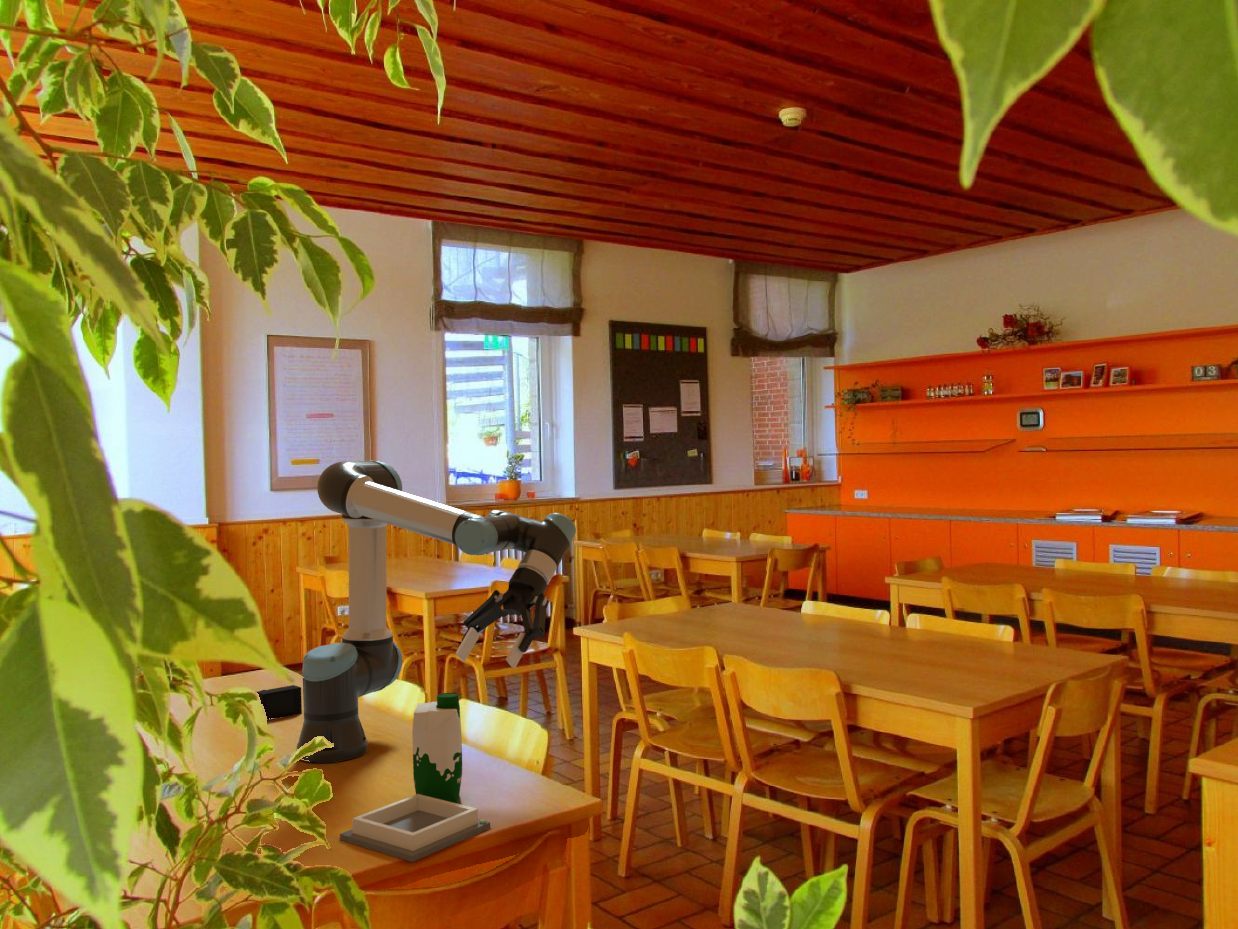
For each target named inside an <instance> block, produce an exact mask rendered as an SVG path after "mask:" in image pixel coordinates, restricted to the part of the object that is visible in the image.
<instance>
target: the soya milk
mask: <svg viewBox="0 0 1238 929" xmlns="http://www.w3.org/2000/svg"><path fill="white" fill-rule="evenodd" d="M460 710H461V707H460V701H459V693H456V692H444V693H440V694H437V695H436V701H431V702H420V703H419V702H418V703H417V705H416V707H415V709H414V711H413V718H412V719H413V720H412V731H411V732H412V765H413V766H412V769H413V770H412V773H413V783H414V789H415V795H416V794H420V795H424V796H428V797H432V798H436V799H440V800H445V801H449V802H453V803H457V804H459V803H458V802H459V797H460V793H461V785H462V778H463V777H462V776H463V741H462V740H463V739H462V738H463V736H462V722H461V720H462V719H461V711H460Z"/></svg>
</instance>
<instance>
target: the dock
mask: <svg viewBox="0 0 1238 929" xmlns="http://www.w3.org/2000/svg"><path fill="white" fill-rule="evenodd" d="M478 810H479V809H478V808H477V807H472V806H468V805H463V804H460V803H453V802H449V801H445V800H440V799H436V798H432V797H428V796H424V795H420V794H416V793H415V794H414V795H411V796H408V797H406V798H403V799H401V800H399V801H398V800H397V801H395V802H393V803H389V804H387V805H384V806H382V807H379V808H377V809H374V810H371V811H369V812H366V813H363V814H361V815H357V816H355V817H352V819H351V821H352V823H351V825H352V826H351V827H352V828H351V829H349V830H347V831H344V832H342V833H340V834H339V840H340V841H343V842H346V843H349V844H352V845H355V846H359V847H362V848H366V849H368V850H370V851H371V850H372V851H376V852H379V853H381V854H384V855H387V856H390V857H395V858H398V859H401V860H404V861H407V862H410V863H414V862H416V861H418V860H421V859H423V858H425V857H428V856H430V855H432V854H435V853H437V852H439V851H441V850H444V849H446V848H448V847H450V846H453V845H455V844H457V843H460V842H461V841H464V840H467V839H469V838H470V837H473V836H475V835H478V834H480V833H482V832H484V831H486V830H489V829H491V821H487V819H485V818H483V819H482V818H481V819H479V811H478Z"/></svg>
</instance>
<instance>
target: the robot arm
mask: <svg viewBox="0 0 1238 929" xmlns="http://www.w3.org/2000/svg"><path fill="white" fill-rule="evenodd" d="M316 489H317V494H318V498H319V500H320V502H321V504H323V506H325V507H326V508H327V510H330V511H332V512H334V513H337V514H341V520H342V521H343V522H344V523H345V524H346V525H347V526H348V628H347V630H346V631H345V632H343V634H342V635H341V642H335V643H329V644H327V645H325V644H323V645H321V646H320V645H319V646H317V647H315V648H312V649H311V650H309V651H307V652H306V653H305V655H304V657H303V659H302V670H301V676H302V691H303V692H302V693H303V694H302V695H303V696H302V700H303V701H302V702H303V724H302V726H301V731H300V735H299V738H298V742H297V744H296V750H297V749H299V748H300V747H301V746H303V745H304V744H305V743H308V742H309V741H311V740H312V739H313V738H314V737H317V736H324V737H325V738H326V739H327V740H328V741H330V742H331V743H334V747H332V748H325V749H323V750H321V751H318V752H316V753H314V754H313V755H310V756H305V757H303V758H302V759H304V760H309V761H310V762H309V763H312V762H315V764H324V763H325V764H326V763H328V764H329V763H336V762H343V761H348V760H351V759H357V758H358V757H361V756H363V755H364V754H366V753H367V752H368V739H367V737H366V734H365V731H364V727H363V726H362V722H361V720H360V717H359V698H361V697H364V696H366V695H369V694H372V693H377V692H379V691H382V690H383V689H386V688H387V687H389V686H390V685H392V684H393V683H394V682H396V680H397V679H398V677H399V676H400V673H401V671H402V667H403V654H402V652H401V649H400V648H399V647H398V644H397V643H396V642H395V641H394V634H393V632H392V631H391V630H390V629H389V627H387V527H388V525H389V526H393V527H398V528H400V529H403V530H406V531H410V532H413V533H417V534H419V535H423V536H425V537H429V538H431V539H434V540H438V541H441V542H444V543H447V544H450V545H454V546H457V547H458V549H459V550H460V551H461V552H462V553H464V554H466V555H469V556H483V555H486V554H490V553H495V552H500V551H506V550H514V551H519V552H523V553H524V555H523V556H522V558H521V559H520V561H519V563H518V565H517V568H516V569H515V571H514V572H513V574H512V575H511V577H510V579H509V580H508V588H507V590H506V592H504V593H502V592H500V591H499V590H498V589H494V590H493V592H492V593H491V595H490V596H489V597H488V598H487V599H486V600H485V601H484V602H483V603H482V604H480V606H478V607H477V608H476V609H475V610H473V612H472V613H471V614H470V615H468V616H467V618H465V619H464V621H463V622H462V623H463V625H464V626H465V627H466V628H467V630H466V631H465V633H464V635H463V637H462V639H461V643H460V644H459V647H458V648H457V650H456V651H455V652H454V653H455V655H456V656H457V657H458V658H459V659H460V660H461V662H465V661H466V660H467V658H468V657H469V656H470V653H471V651H472V650H473V648H474V646H475V645H476V643H477V641H478V640H479V638H480V636H481V635H480V634H479V633H480V632H483V631H484V630H485V629H486V628H488V627H489V626H490V625H492V624H493V623H495V622H496V621H498V620H499V619H501V618H505V617H506V616H508V615H509V616H514V615H515V616H516V617H518V616H519V617H521V620H522V621H521V622H522V625H523V632H520V633H519V635H518V636H517V637H516V640H515V641H514V644H513V645H512V648H511V649H510V650H509V653H508V654H507V656H506V658H505V661H506V662H507V663H508V665H510V667H511V668H513V669H516V667H517V665H519V662H520V660H521V659H522V656H523V654H524V653H526V652H528V649H529V648H530V645H531V644H532V642H533V641H535V640H536V638H537V639H538V638H539V639H543V638H544V636H545V632H546V631H545V630H546V629H545V628H546V618H547V617H546V615H547V614H546V613H547V608H548V605H549V603H550V601H549V599H548V598H547V597H546V595H545V594H544V593H545V591H546V589H547V588H548V585H549V583H550V582H551V580H552V578H553V576H554V575H555V573H556V571H557V570H558V568H559V565H560V563H561V561H562V560H563V558H564V556H565V555H566V553H567V551H568V550H569V549H570V548H571V545H572V542H573V540H574V538H575V536H576V533H577V528H576V525H575V524H574V521H572V520H571V518H569V517H568V516H566V515H564V514H562V513H558V512H554V513H549V514H547V516H546V517H544V519H543V520H541V519H540V520H539V519H533V518H530V517H526V516H522V515H519V514H515V513H512V512H510V511H508V510H505V511H504V510H498V509H494V510H490V512H489V513H488V514H487V515H486V516H484V515H483V516H482V515H479V514H476V513H472V512H469V511H466V510H463V509H460V508H457V507H454V506H450V505H447V504H444V503H441V502H437V501H434V500H432V499H428V498H424V497H421V496H419V495H414V494H412V493H408V492H404V491H403V482H402V479H401V477H400V474H399V473H398V471H397V470H395V468H394V467H392V465H390V464H388V463H387V462H383V461H378V460H371V459H370V460H359V461H358V460H357V461H353V460H352V461H347V460H345V461H337V462H334V463H332V464H330V465H328V467H326V468H325V469H324V470H323V471H322V472H321V474H320V475H319V478H318V481H317V486H316ZM533 607H534V613H533V614H534V616H533V614H532V610H531V609H532V608H533ZM532 618H533V619H532ZM303 677H304V678H303ZM306 757H308V758H306Z"/></svg>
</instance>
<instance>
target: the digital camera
mask: <svg viewBox="0 0 1238 929" xmlns="http://www.w3.org/2000/svg"><path fill="white" fill-rule="evenodd" d="M256 692H257V693H258V694H259V697H260V700H261V704H263V706H264V709H265V712H266V716H267V719H268V720H267V721H270V720H269V718H270V719H271V718H278V719H281V718H280V717H283V718H287V717H291V716H297V715H302V713H303V711H302V710H303V708H302V707H303V705H302V702H303V701H302V687H301V686H297V685H295V684H293V685H287V686H281V687H276V688H275V687H274V688H269V689H262V690H258V691H256Z"/></svg>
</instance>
